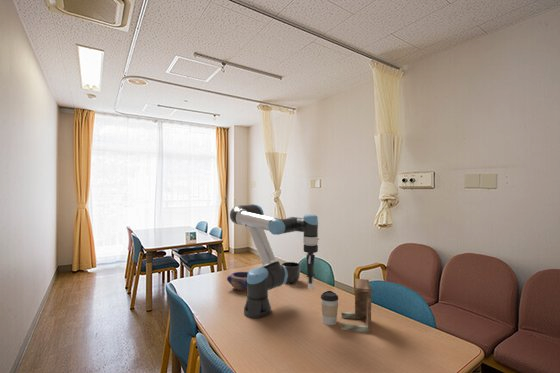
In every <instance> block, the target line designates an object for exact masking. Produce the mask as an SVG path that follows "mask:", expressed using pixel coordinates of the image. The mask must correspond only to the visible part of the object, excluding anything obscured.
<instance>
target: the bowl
mask: <svg viewBox="0 0 560 373" xmlns="http://www.w3.org/2000/svg"><path fill="white" fill-rule="evenodd" d="M248 272H249V271H235V272H232V273H231V274H229V275H227V277H226V281H227V282H228V283H229V284H230V285H231V286H232V287H233V288H234V289H235V290H236V289H237V291H242V290H244V291H247V274H248Z"/></svg>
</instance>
